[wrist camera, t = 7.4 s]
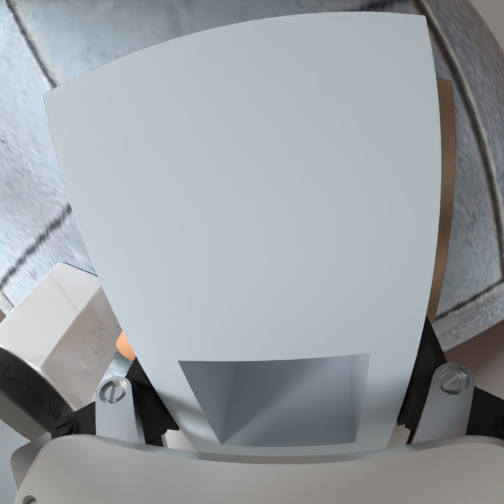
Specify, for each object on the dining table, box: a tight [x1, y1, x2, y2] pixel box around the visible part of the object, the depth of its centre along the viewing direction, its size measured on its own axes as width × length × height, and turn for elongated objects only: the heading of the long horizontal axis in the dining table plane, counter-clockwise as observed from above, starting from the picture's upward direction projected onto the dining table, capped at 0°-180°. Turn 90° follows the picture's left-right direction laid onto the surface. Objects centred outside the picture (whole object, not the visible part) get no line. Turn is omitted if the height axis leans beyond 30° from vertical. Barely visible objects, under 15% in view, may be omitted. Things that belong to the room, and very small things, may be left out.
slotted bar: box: [43, 12, 441, 456], centre depth 10 cm, size 18×7×5 cm, turn 10°
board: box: [426, 79, 455, 324], centre depth 18 cm, size 16×20×1 cm
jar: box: [0, 262, 123, 441], centre depth 18 cm, size 9×8×12 cm
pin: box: [116, 331, 136, 361], centre depth 17 cm, size 2×2×6 cm
